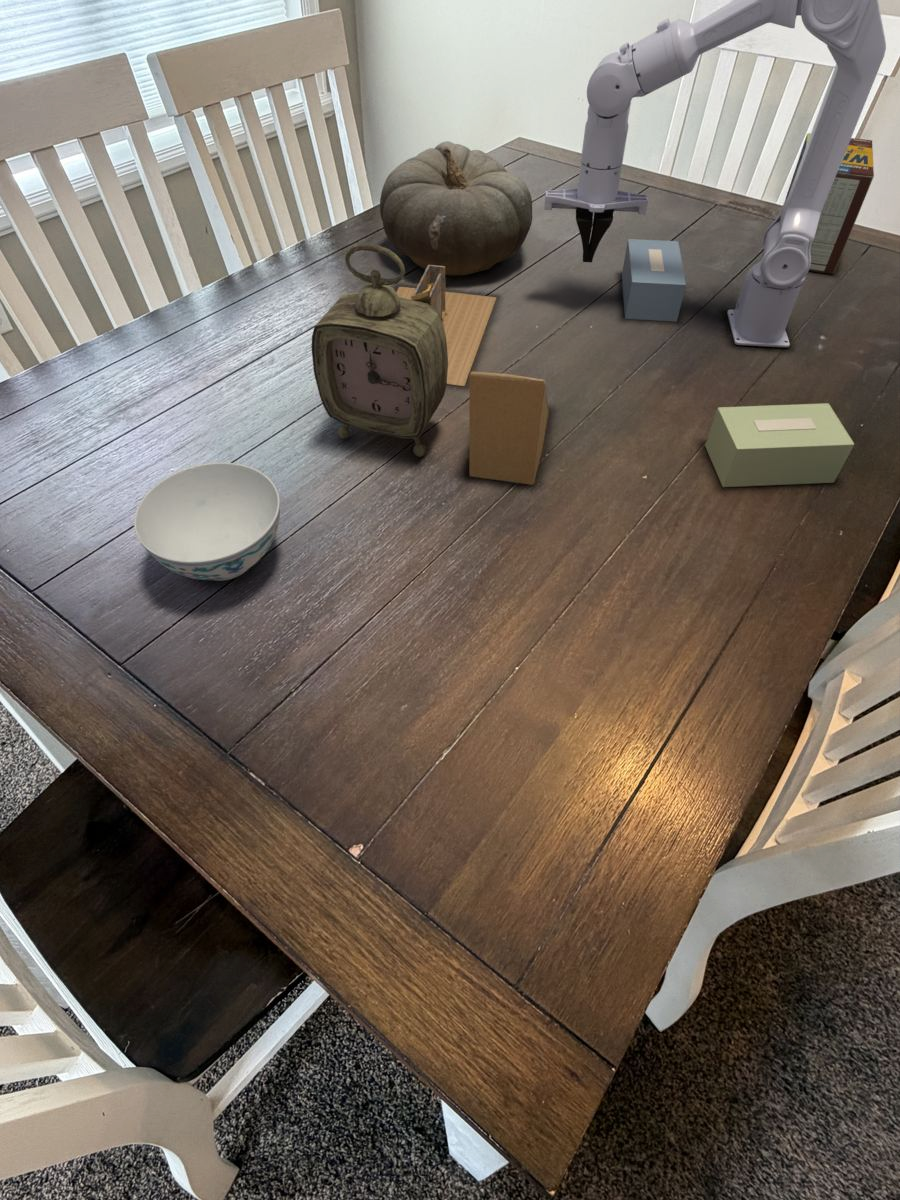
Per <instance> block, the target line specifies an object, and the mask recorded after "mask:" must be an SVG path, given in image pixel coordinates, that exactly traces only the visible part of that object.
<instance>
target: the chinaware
mask: <svg viewBox="0 0 900 1200" xmlns="http://www.w3.org/2000/svg"><path fill="white" fill-rule="evenodd" d="M280 516H281V499H280V495H279V491H278V488H277V487H276V485H275V484H274V482H273V481H272V480H271V479H270V478H269V477H268V476H267V475H266V474H264V473H263V472H261V471H260V470H258V469H256V468H254V467H251V466H248V465H244V464H241V463H233V462H209V463H204V464H203V463H202V464H198V465H194V466H190V467H188V468H184V469H181V470H179V471H175V472H174V473H172V474H170V475H169V476H166V477H165V478H164V479H162V480H160V481H159V482H158V483H156V484H155V485H153V487H151V489H149V491H148V492H146V494H145V495H144V496H143V497H142V498H141V500H140V502H139V504H138V505H137V508H136V510H135V513H134V518H133V528H134V533H135V536H136V538H137V540H138V541H139V543H140V544H141V546H142V547H143V548H144V550H145V551H146V552H147V553H148V554H149V555H150V556H151V557H152V558H153V559H154V560H156V561H157V562H158V563H159V564H160V565H161V566H163V567H164V568H166V569H168V570H170V571H171V572H173V573H174V574H175V573H176V574H178V575H180V576H183V577H186V578H188V579H189V578H190V579H193V580H200V581H219V582H220V581H229V580H232V579H235V578H238V577H240V576H241V575H243V574H244V573H246V572H247V571H248V570H250V568H251V567H253V566H254V565H256V564H258V562H259V561H260V560H262V559H263V557H264V556H265V555H266V554H267V552H268V551H269V549H270V547H271V546H272V544H273V542H274V540H275V537H276V535H277V531H278V528H279V524H280Z"/></svg>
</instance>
